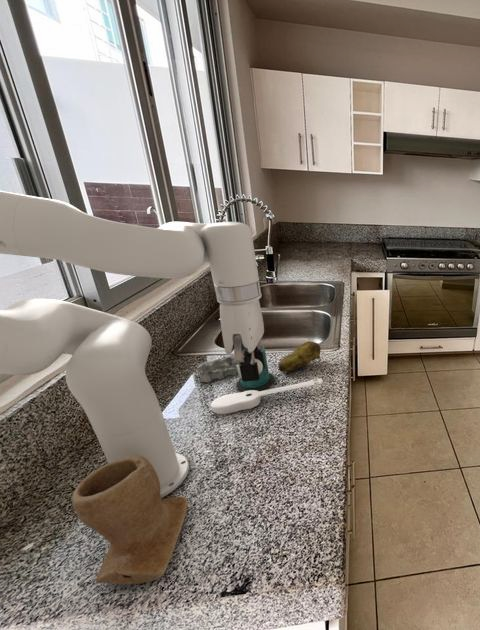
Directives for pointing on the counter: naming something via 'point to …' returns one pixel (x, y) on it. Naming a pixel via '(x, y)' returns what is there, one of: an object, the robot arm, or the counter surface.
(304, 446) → the counter surface
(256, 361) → the paper ball
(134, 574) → the stone cup
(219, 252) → the robot arm
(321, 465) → the counter surface
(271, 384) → the bin stand
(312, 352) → the olive green oblong piece
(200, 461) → the counter surface
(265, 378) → the bin
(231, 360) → the egg carton
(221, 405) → the white handheld wand
